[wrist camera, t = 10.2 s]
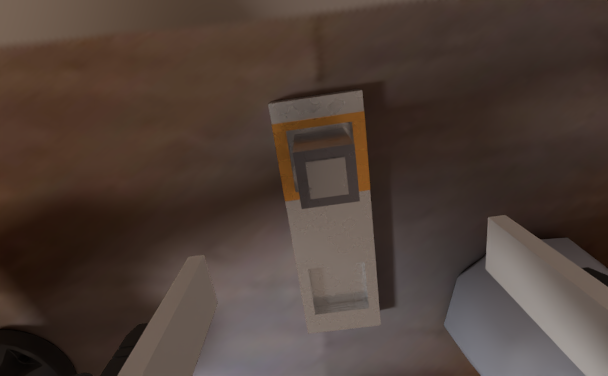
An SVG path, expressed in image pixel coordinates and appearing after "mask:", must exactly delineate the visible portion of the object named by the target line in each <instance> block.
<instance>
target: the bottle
mask: <svg viewBox="0 0 608 376" xmlns="http://www.w3.org/2000/svg"><path fill="white" fill-rule="evenodd" d="M542 241H543V242H545V243H546V244H547V245H549V246H550V247H552V248H553V249H555V250H556V251H557V252H559V253H560V254H562V255H563V256H565V257H566V258H567V259H569V260H570V261H572V262H573V263H574V264H576V265H577V266H579V267H580V268H585V267H589V268H591V269H594V270H596V271H599V272H601V273H603V274H606V275H608V268H606V267H605V266H604V265H603V264H601V263H600V262H599V261H597V260H596V259H595V258H593V257H592V256H591V255H590V254H588V253H587V252H586V251H584V250H583V249H582V248H580V247H579V246H578V245H576V244H575V243H574V242H573V241H571V240H570V239H569V238H555V239H543V240H542ZM485 266H486V255H485V256H484V257H483V258H481V259H480V260H479V261H477V262H476V263H474V264H473V265H472V266H470V267H469V268H468V269H466V270H465V271H464V272H462V273H461V274H460V275H459V276H458V278H457V281H456V284H455V288H454V291H453V295H452V298H451V302H450V305H449V309H448V312H447V316H446V319H445V323H444V326H445V328H446V329H447V330H448V332H449V333H450V335H451V336H452V338H453V339H454V340H455V342H456V343H457V345H458V346H459V348H460V349H461V350H462V352H463V353H464V355H465V356H466V358H467V359H468V360H469V361H470V363H471V364H472V365H473V366H474V368H475V369H476V370H477V371H478V373H479V374H480V375H481V376H585V374H584V373H583V372H582V371H581V370H580V369H579V368H578V367H577V366H576V365H575V364H574V363H573V362H572V361H571V360H570V359H569V357H568V356H567V355H566V354H565V353H564V352H563V351H562V350H561V349H560V348H559V347H558V346H557V345H556V344H555V343H554V341H553V340H552V339H551V338H550V337H549V336H548V335H547V334H546V333H545V332H544V331H543V330H542V329H541V328H540V327H539V325H538V324H537V323H536V322H535V321H534V320H533V319H532V318H531V317H530V316H529V315H528V314H527V313H526V312H525V311H524V309H523V308H522V307H521V306H520V305H519V304H518V303H517V302H516V301H515V300H514V299H513V298H512V297H511V296H510V295H509V294H508V292H507V291H506V290H505V289H504V288H503V287H502V286H501V285H500V284H499V283H498V282H497V281H496V280H495V279H494V278H493V276H492V275H491V274H490V273H489V272H488V271H487V270H486V269H485Z"/></svg>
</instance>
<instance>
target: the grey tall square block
mask: <svg viewBox="0 0 608 376" xmlns="http://www.w3.org/2000/svg"><path fill="white" fill-rule="evenodd" d="M293 158H294V164H295V171H296V177H297V183H298V189H299V196H300V202H301V208H302V209H306V208H314V207H321V206H329V205H336V204H343V203H351V202H358V201H360V197H359V186H358V176H357V165H356V154H355V144H354V142H353V141H352V140H351V138H350V137H349V136H348V134H347V133H346V131H345V130H344V129H343V127H342V128H335V129H328V130H321V131H314V132H307V133H300V134H294V144H293Z"/></svg>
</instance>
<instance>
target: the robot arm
mask: <svg viewBox="0 0 608 376" xmlns="http://www.w3.org/2000/svg"><path fill="white" fill-rule="evenodd" d="M485 269H486V270H487V271H488V272H489V273H490V274H491V275H492V276H493V278H494V279H495V280H496V281H497V282H498V283H499V284H500V285H501V286H502V287H503V288H504V289H505V290H506V291H507V292H508V294H509V295H510V296H511V297H512V298H513V299H514V300H515V301H516V302H517V303H518V304H519V305H520V306H521V307H522V308H523V309H524V311H525V312H526V313H527V314H528V315H529V316H530V317H531V318H532V319H533V320H534V321H535V322H536V323H537V324H538V325H539V327H540V328H541V329H542V330H543V331H544V332H545V333H546V334H547V335H548V336H549V337H550V338H551V339H552V340H553V341H554V343H555V344H556V345H557V346H558V347H559V348H560V349H561V350H562V351H563V352H564V353H565V354H566V355H567V356H568V357H569V359H570V360H571V361H572V362H573V363H574V364H575V365H576V366H577V367H578V368H579V369H580V370H581V371H582V372H583V373H584V374H585V376H608V275H606V274H603V273H601V272H599V271H596V270H594V269H591V268H589V267H585V268H580V267H579V266H577V265H576V264H574V263H573V262H572V261H570V260H569V259H567V258H566V257H565V256H563V255H562V254H560V253H559V252H557V251H556V250H555V249H553V248H552V247H550V246H549V245H547V244H546V243H545V242H543V241H542V240H540V239H539V238H537V237H536V236H535V235H533V234H532V233H530V232H529V231H527V230H526V229H525V228H523V227H522V226H520V225H519V224H517V223H516V222H515V221H513V220H512V219H510V218H509V217H507V216H506V215H501V216H493V217H488V228H487V247H486V266H485ZM217 304H218V302H217V298H216V294H215V291H214V287H213V284H212V280H211V277H210V273H209V269H208V266H207V262H206V259H205V255H198V256H191V257H188V258H187V260H186V262H185V263H184V265H183V267H182V268H181V270H180V272H179V273H178V275H177V277H176V278H175V280H174V282H173V283H172V285H171V287H170V288H169V290H168V292H167V293H166V295H165V297H164V298H163V300H162V302H161V303H160V305H159V307H158V308H157V310H156V312H155V314H154V315H153V317H152V319H151V320H150V322H149V323H147V324H139V325H138V326H136V327H135V328H134V329H133V330H132V331H131V332H130V333H129V334H128V335H127V336H126V337H125V339H124V340H123V342H122V343H121V345H120V346H119V350H117V351H116V353H115V354H114V356H113V359H112V360H110V362H109V363H108V365H107V366H106V368H105V369H104V371H103V372H102V374H101V376H192V375H193V372H194V369H195V366H196V364H197V361H198V358H199V355H200V352H201V349H202V346H203V344H204V341H205V338H206V335H207V332H208V329H209V327H210V324H211V321H212V318H213V315H214V312H215V309H216V307H217ZM0 376H93V375H92V374H89V373H81V374H76V372H75V370H74V367H73V366H72V364H71V362H70V361H69V359H68V358H67V357H66V356H65V355H64V354H63V353H62V352H61V351H60V350H59V349H58V348H56V347H55V346H54V345H52V344H51V343H49V342H47V341H46V340H44V339H42V338H39V337H37V336H35V335H32V334H29V333H25V332H21V331H15V330H0Z"/></svg>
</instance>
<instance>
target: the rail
mask: <svg viewBox="0 0 608 376" xmlns="http://www.w3.org/2000/svg"><path fill="white" fill-rule="evenodd" d="M268 105H269V111H270V117H271V122H272V129H273V135H274V141H275V147H276V152H277V158H278V164H279V170H280V175H281V181H282V187H283V193H284V198H285V203H286V209H287V214H288V220H289V226H290V232H291V237H292V243H293V249H294V255H295V260H296V266H297V272H298V278H299V283H300V289H301V295H302V301H303V306H304V312H305V318H306V324H307V329H308V334H309V333H318V332H326V331H335V330H343V329H351V328H360V327H368V326H377V325H381V322H380V309H379V296H378V284H377V271H376V258H375V245H374V233H373V220H372V207H371V194H370V177H369V165H368V152H367V139H366V126H365V113H364V105H363V92H362V90H360V89H354V90H347V91H340V92H333V93H327V94H320V95H313V96H306V97H299V98H293V99H286V100H279V101H272V102H270V103H269V104H268ZM342 127H343V129H344V130H345V131H346V133H347V134H348V136H349V137H350V138H351V140H352V141H353V142H354V144H355V154H356V165H357V176H358V186H359V197H360V201H358V202H351V203H343V204H336V205H329V206H321V207H314V208H306V209H302V208H301V202H300V196H299V189H298V183H297V177H296V171H295V164H294V158H293V144H294V134H300V133H307V132H314V131H321V130H328V129H335V128H342Z"/></svg>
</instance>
